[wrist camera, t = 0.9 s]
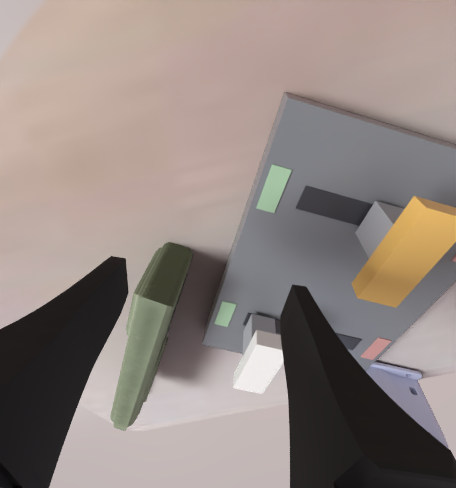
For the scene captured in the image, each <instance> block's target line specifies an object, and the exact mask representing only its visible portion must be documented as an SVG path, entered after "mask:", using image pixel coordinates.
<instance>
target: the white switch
mask: <svg viewBox="0 0 456 488" xmlns="http://www.w3.org/2000/svg"><path fill="white" fill-rule="evenodd" d="M283 362H284V360H283V352H282V345H281V335H278V334H276V329H275V319H273V318H268V317H264V316H260V315H255V314H251V316H250V318H249V321H248V323H247V325H246V327H245V329H244V332H243V357H242V359H241V361H240V363H239V365H238V367H237V369H236V371H235V373H234V384H233V388H236V389H240V390H245V391H250V392H255V393H260V394H263V392H264V391H265V389H266V388H267V386H268V385H269V383H270V382H271V380H272V379H273V377H274V376H275V374H276V373H277V371H278V370H279V368H280V367H281V365H282V364H283Z"/></svg>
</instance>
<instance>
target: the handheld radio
mask: <svg viewBox="0 0 456 488" xmlns="http://www.w3.org/2000/svg"><path fill="white" fill-rule="evenodd" d="M192 256H193V252H192V250H191V249H190V248H188V247H184V246H181V245H178V244H174V243H171V242H168V243H166V244H164V246H163V247H162V248H159V249H158V250H157V251H156V252H155V254H154V256H153V258H152V260H151V262H150V264H149V265H148V267H147V269H146V271H145V273H144V275H143V277H142V279H141V280H140V282H139V284H138V286H137V288H136V290H135V292H134V294H133V299H132V304H131V308H130V313H129V318H128V323H127V327H126V329H127V335H128V336H129V337H128V342H127V346H126V350H125V355H124V359H123V363H122V368H121V372H120V377H119V381H118V385H117V390H116V394H115V399H114V403H113V407H112V412H111V420H112V421H113V422H114V427H115V428H117V429H120V430H123V431H125V430H126V428H127V427H129V426H130V425H132V424H133V423H134V421H135V420H136V418H137V416H138V414H139V413H140V410H141V408H142V405H143V402H145V401H146V400H147V396H148V394H149V391H150V388H151V385H152V383H153V380H154V377H155V375H156V372H157V369H158V366H159V363H160V360H161V357H162V354H163V351H164V348H165V345H166V342H167V339H168V337H167V333H168V330H169V325H170V323H171V320H172V317H173V314H174V311H175V308H176V305H177V302H178V299H179V297H180V294H181V291H182V288H183V285H184V282H185V279H186V276H187V271H188V268H189V265H190V263H191V260H192Z"/></svg>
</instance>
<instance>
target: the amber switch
mask: <svg viewBox="0 0 456 488" xmlns="http://www.w3.org/2000/svg"><path fill="white" fill-rule="evenodd" d="M355 233H356V235H357V237H358V239H359V241H360V243H361V245H362V247H363V248H364V250H365V252H366V254H367V256H368V258H369V260H368V261H367V262H366V264H365V265H364V267H363V268H362V269H361V271H360V272H359V274H358V275H357V276H356V278H355V279H354V281H353V282H352V283H351V284H352V286H353V289H354V291H355V294H356V296H357V298H359V299H363V300H367V301H371V302H375V303H379V304H383V305H387V306H391V307H395V308H396V307H397V306H398V305H399V304H400V303H401V302H402V301H403V300H404V299H405V297H406V296H407V295H408V294H409V293H410V292H411V291H412V290H413V289H414V287H415V286H416V285H417V284H418V283H419V282H420V281H421V280H422V279H423V278H424V276H425V275H426V274H427V273H428V272H429V271H430V270H431V269H432V268H433V267H434V265H435V264H436V263H437V262H438V261H439V260H440V259H441V258H442V257H443V255H444V254H445V253H446V252H447V251H448V250H449V249H450V248H451V247H452V246H453V244H454V243H455V242H456V208H455V207H451V206H448V205H444V204H441V203H437V202H434V201H430V200H427V199H424V198H420V197H417V196H414V197H413V198H412V199H411V201H410V202H409V204H408V205H407V206H406V208H405V209H403V208H399V207H396V206H392V205H389V204H385V203H382V202H378V201H375V202H374V204H373V206H372V207H371V209H370V210H369V212H368V213H367V215H366V217H365V218H364V220H363V221H362V223H361V225H360V226H359V228H358V229H357V231H356V232H355Z"/></svg>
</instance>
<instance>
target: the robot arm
mask: <svg viewBox="0 0 456 488" xmlns="http://www.w3.org/2000/svg"><path fill="white" fill-rule="evenodd" d="M127 295H128V281H127V270H126V258H119V257H113V256H111V257H110V258H108V259H107V260H106V261H104V262H103V263H102V264H100V265H99V266H98V267H97V268H95V269H94V270H93V271H91V272H90V273H89V274H87V275H86V276H85V277H84V278H82V279H81V280H80V281H78V282H77V283H75V284H74V285H73V286H71V287H70V288H69V289H67V290H66V291H64V292H63V293H61V294H60V295H58V296H57V297H55V298H54V299H53V300H51V301H50V302H48V303H47V304H45V305H43V306H42V307H40V308H39V309H37V310H35V311H34V312H32V313H30V314H28V315H27V316H25V317H23V318H21V319H19V320H18V321H16V322H14V323H12V324H10V325H8V326H6V327H4V328H2V329H0V488H49V486H50V482H51V479H52V476H53V473H54V470H55V467H56V464H57V461H58V458H59V455H60V452H61V449H62V446H63V444H64V441H65V438H66V435H67V432H68V430H69V427H70V424H71V421H72V418H73V416H74V413H75V411H76V408H77V406H78V403H79V400H80V398H81V395H82V393H83V390H84V388H85V385H86V383H87V380H88V378H89V375H90V373H91V371H92V368H93V366H94V364H95V362H96V360H97V358H98V356H99V354H100V352H101V350H102V349H103V347H104V345H105V343H106V341H107V339H108V337H109V335H110V333H111V331H112V330H113V328H114V326H115V324H116V322H117V320H118V318H119V316H120V314H121V311H122V309H123V306H124V304H125V301H126V298H127ZM280 331H281V345H282V352H283V360H284V367H285V374H286V381H287V389H288V400H289V424H290V488H456V460H455V458H454V456H453V454H452V452H451V451H450V450H449V449H448V445H447V442H446V439H445V437H444V435H443V433H442V431H441V428H440V426H439V424H438V422H437V420H436V418H435V416H434V414H433V412H432V410H431V408H430V406H429V404H428V402H427V399H426V397H425V395H424V393H423V391H422V389H421V387H420V385H419V383H418V380H419V379H420V378H421V377H422V375H421V373H420V372H418V371H414V370H409V369H405V368H401V367H396V366H392V365H387V364H383V363H379V362H374V363H373V364H372V365H371V366H370V367H369V368H368V369H367V370H366V371H365V370H364V369H363V368H362V367H361V365H360V364H359V363H358V362H357V361H356V359H355V358H354V357H353V356H352V355H351V353H350V352H349V351H348V350H347V348H346V347H345V345H344V344H343V343H342V341H341V340H340V339H339V337H338V336H337V334H336V333H335V332H334V330H333V329H332V327H331V325H330V324H329V322H328V321H327V319H326V318H325V316H324V315H323V313H322V312H321V310H320V308H319V307H318V305H317V303H316V302H315V300H314V298H313V297H312V295H311V293H310V292H309V290H308V288H307V287H306V286H300V285H293V284H292V286H291V289H290V292H289V294H288V297H287V300H286V302H285V305H284V307H283V310H282V313H281V315H280Z"/></svg>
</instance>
